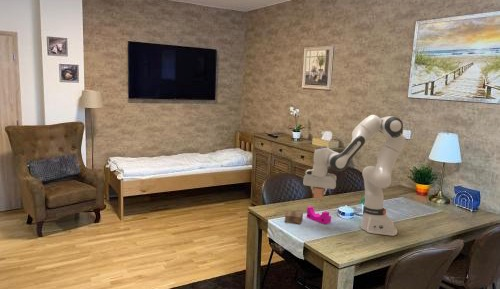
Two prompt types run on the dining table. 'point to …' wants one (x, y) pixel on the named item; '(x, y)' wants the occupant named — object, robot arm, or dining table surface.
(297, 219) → the walnut base block
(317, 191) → the terracotta block
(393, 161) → the robot arm
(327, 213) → the toy block
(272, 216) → the dining table surface
